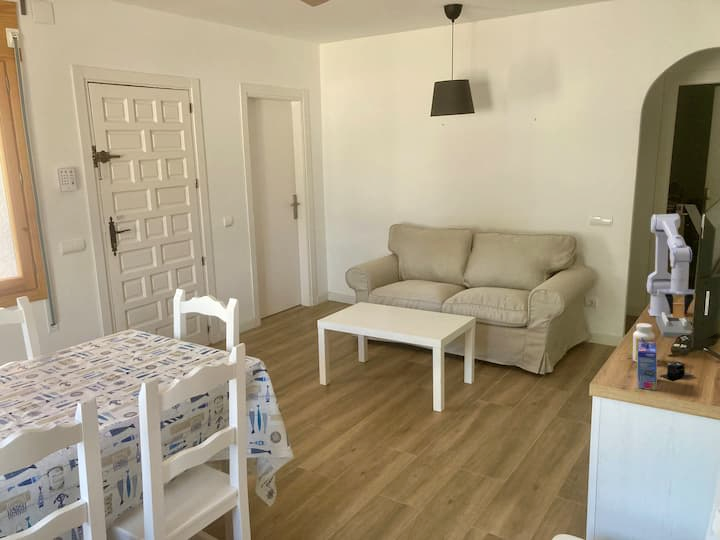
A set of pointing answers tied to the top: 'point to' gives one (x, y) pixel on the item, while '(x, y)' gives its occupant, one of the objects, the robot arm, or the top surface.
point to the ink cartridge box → (647, 365)
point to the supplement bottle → (642, 336)
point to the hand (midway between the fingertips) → (678, 313)
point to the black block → (675, 372)
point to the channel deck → (673, 326)
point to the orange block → (678, 310)
